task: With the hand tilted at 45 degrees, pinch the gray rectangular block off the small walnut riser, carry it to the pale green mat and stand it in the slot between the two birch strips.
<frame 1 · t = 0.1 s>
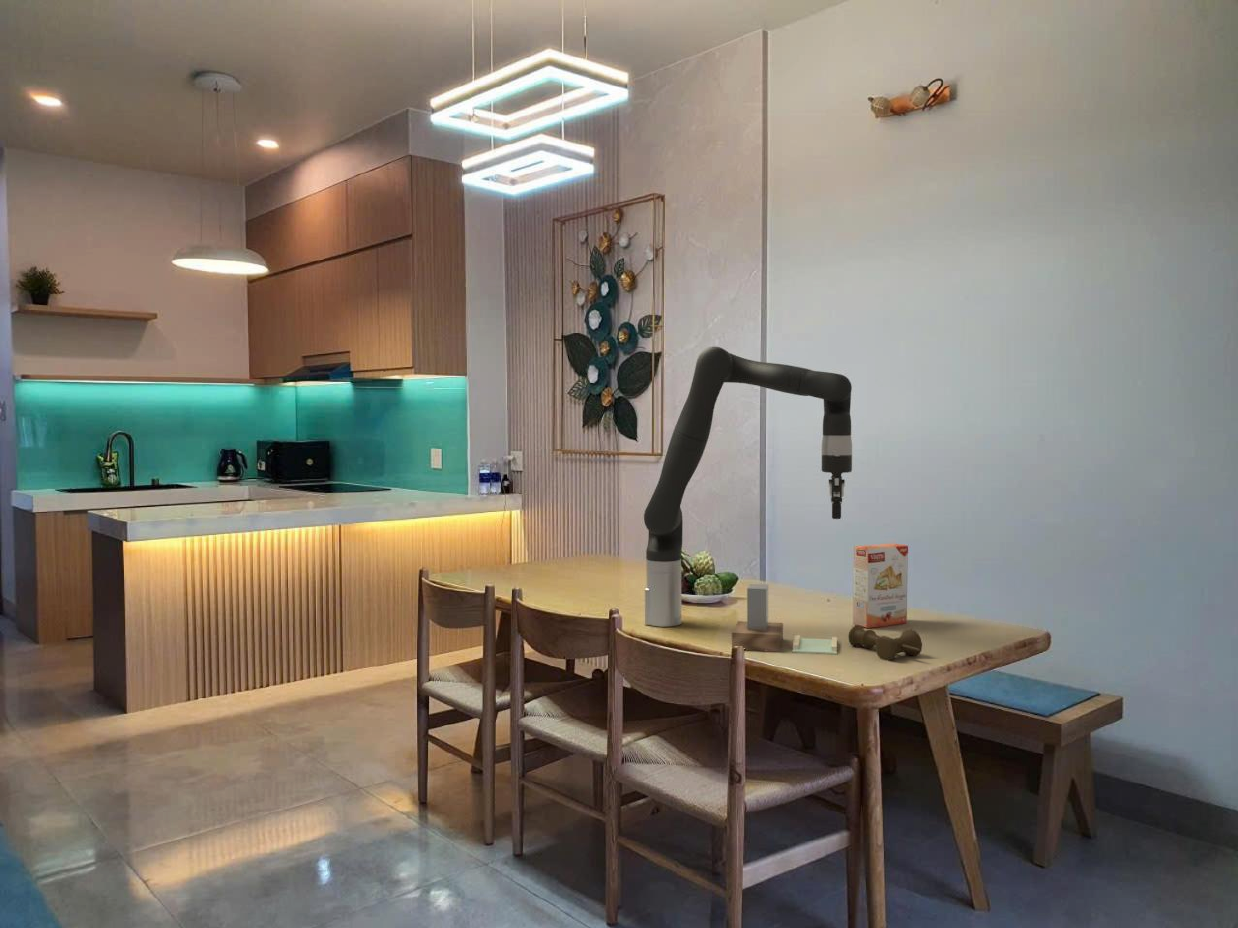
hand: (836, 517, 237), 29 cm above the table, tool pointing down, fingers open, 8 cm apart
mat: (815, 646, 221), on the table
cracker box: (880, 624, 245), on the table
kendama: (886, 655, 214), on the table
gray rectangular block: (758, 627, 224), point 4 cm above the table, touching riser
riser: (758, 644, 224), on the table
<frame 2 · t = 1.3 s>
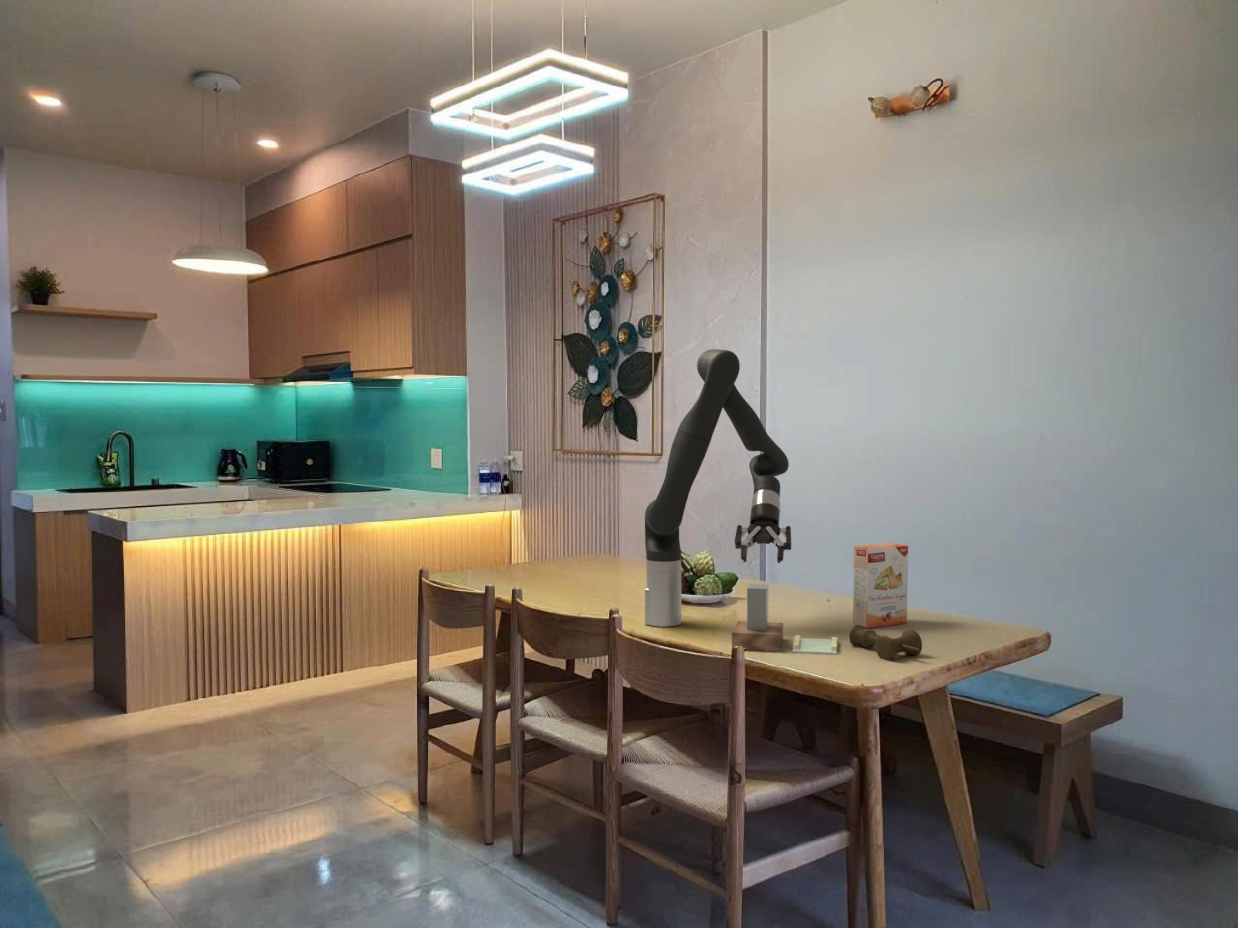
hand: (761, 560, 235), 19 cm above the table, tool tilted 45°, fingers open, 8 cm apart
nothing on the table moved.
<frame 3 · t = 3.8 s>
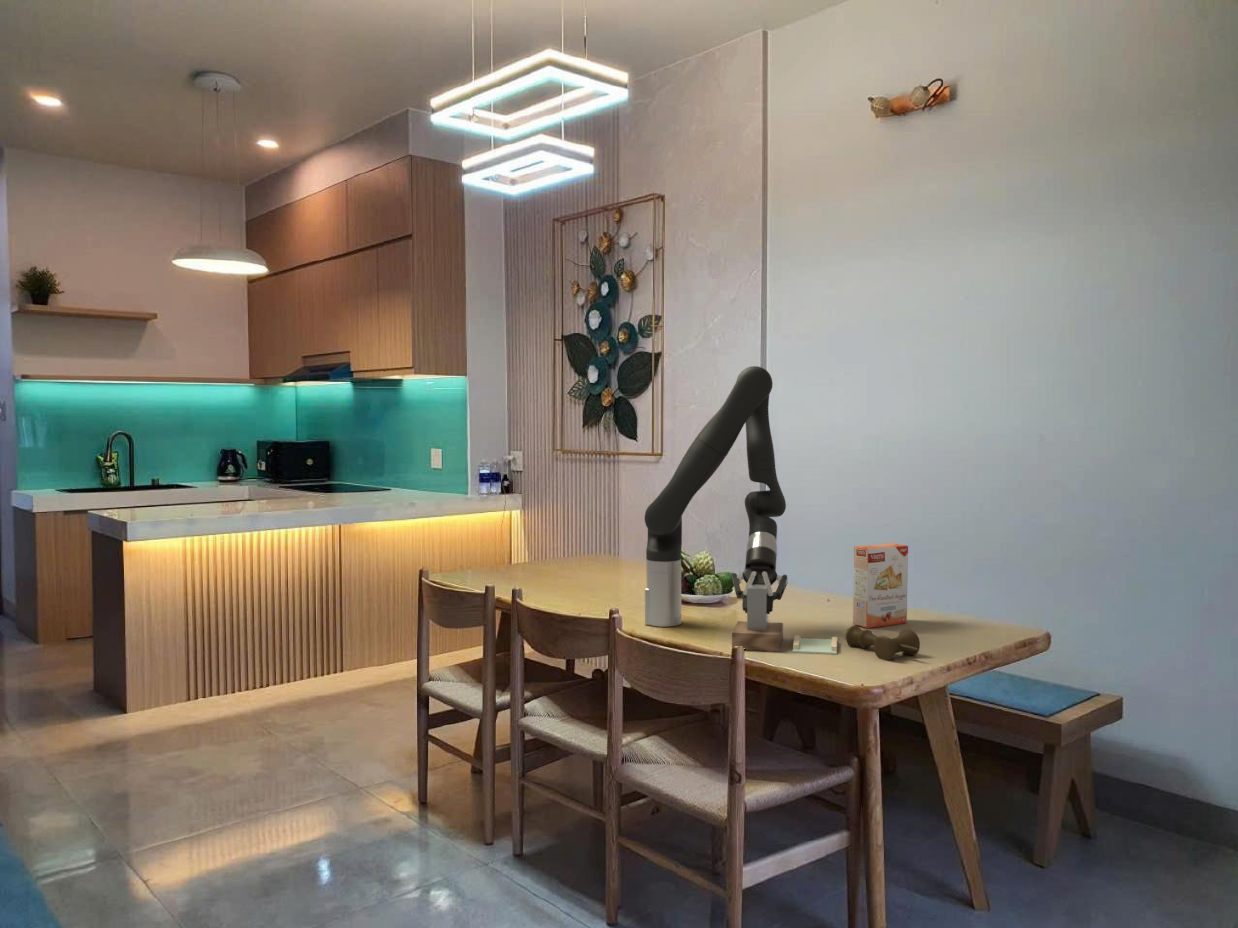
hand: (757, 611, 222), 8 cm above the table, tool tilted 45°, fingers closed on gray rectangular block, 4 cm apart
gray rectangular block: (757, 627, 224), point 4 cm above the table, touching gripper, riser
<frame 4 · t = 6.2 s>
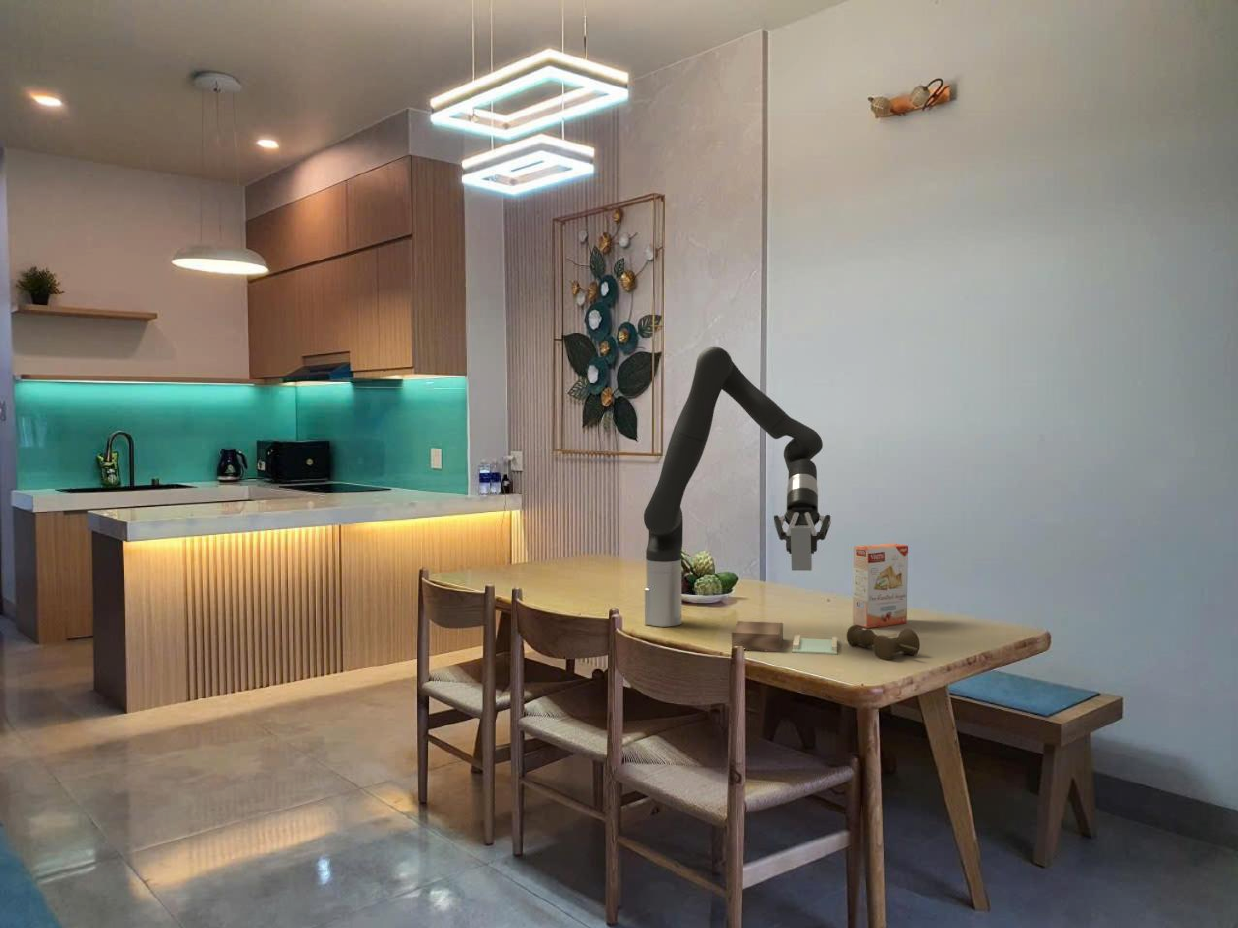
hand: (801, 551, 219), 23 cm above the table, tool tilted 45°, fingers closed on gray rectangular block, 4 cm apart
gray rectangular block: (802, 568, 221), point 19 cm above the table, touching gripper
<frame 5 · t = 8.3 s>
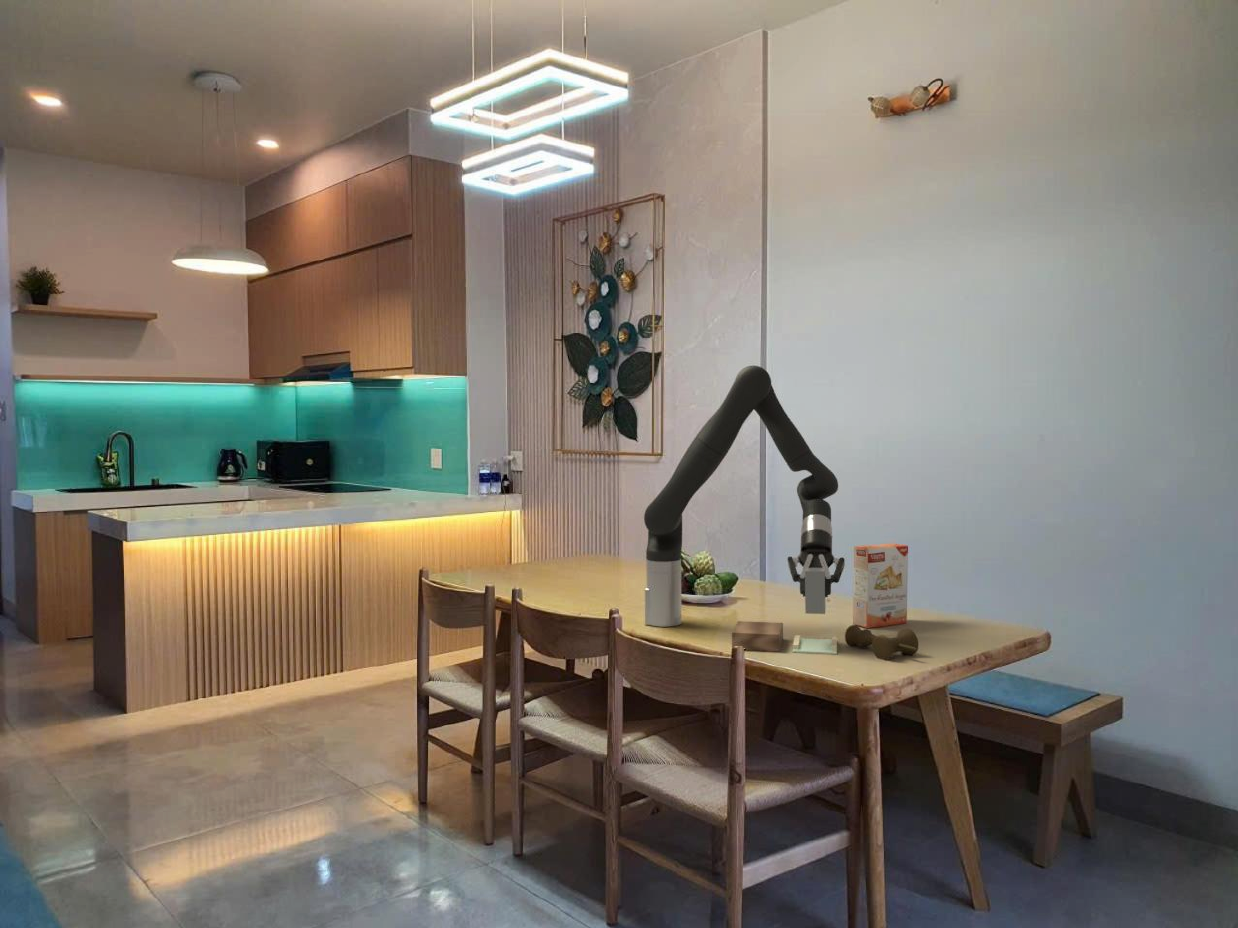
hand: (815, 594, 219), 13 cm above the table, tool tilted 45°, fingers closed on gray rectangular block, 4 cm apart
gray rectangular block: (815, 611, 221), point 9 cm above the table, touching gripper
everything else where it was.
when the fingers open (6 cm above the table, at t = 10.0 s): gray rectangular block drops 1 cm, resting on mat.
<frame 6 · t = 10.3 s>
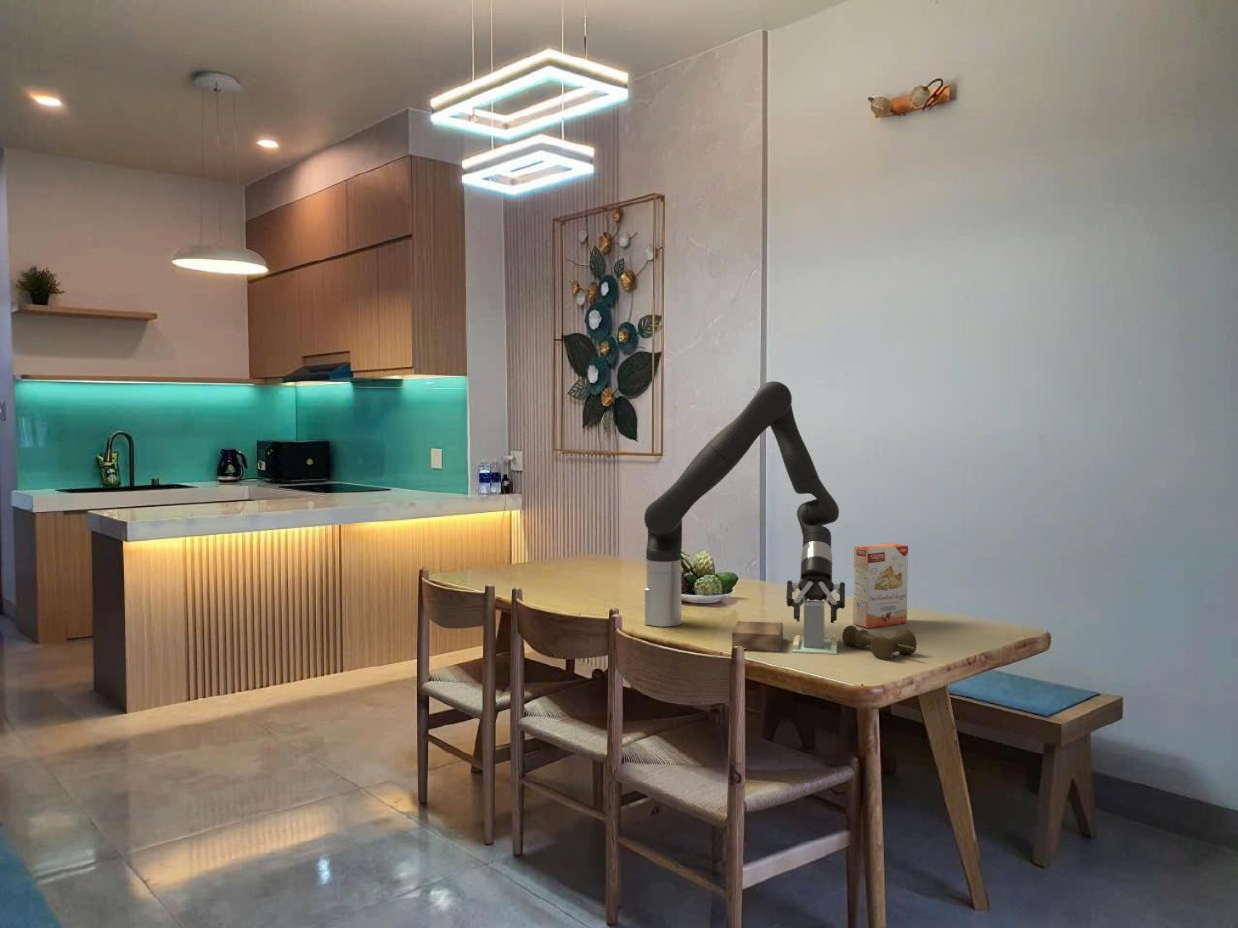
hand: (815, 620, 220), 7 cm above the table, tool tilted 45°, fingers open, 7 cm apart
gray rectangular block: (814, 645, 221), resting on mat
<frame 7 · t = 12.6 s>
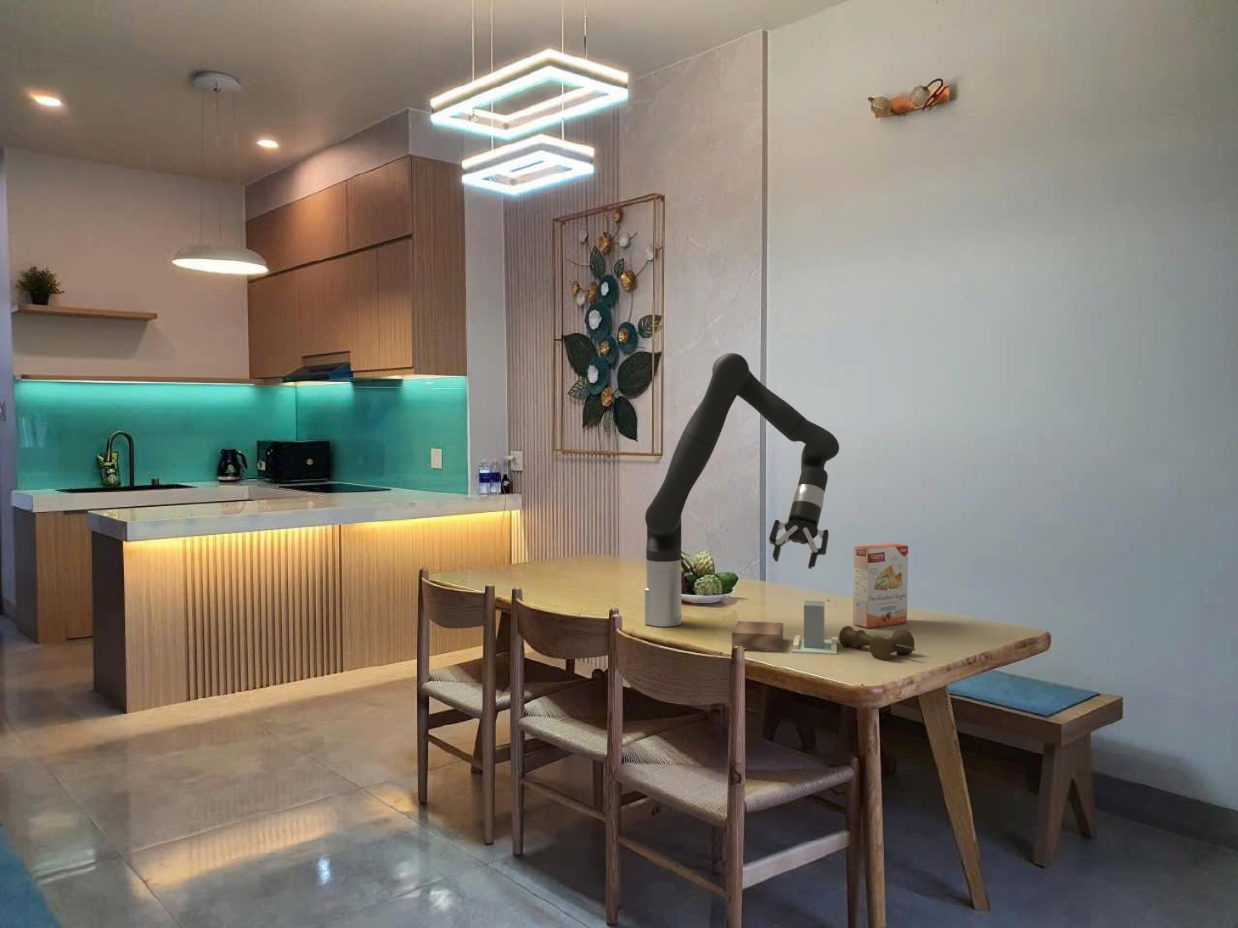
hand: (792, 564, 233), 18 cm above the table, tool tilted 30°, fingers open, 8 cm apart
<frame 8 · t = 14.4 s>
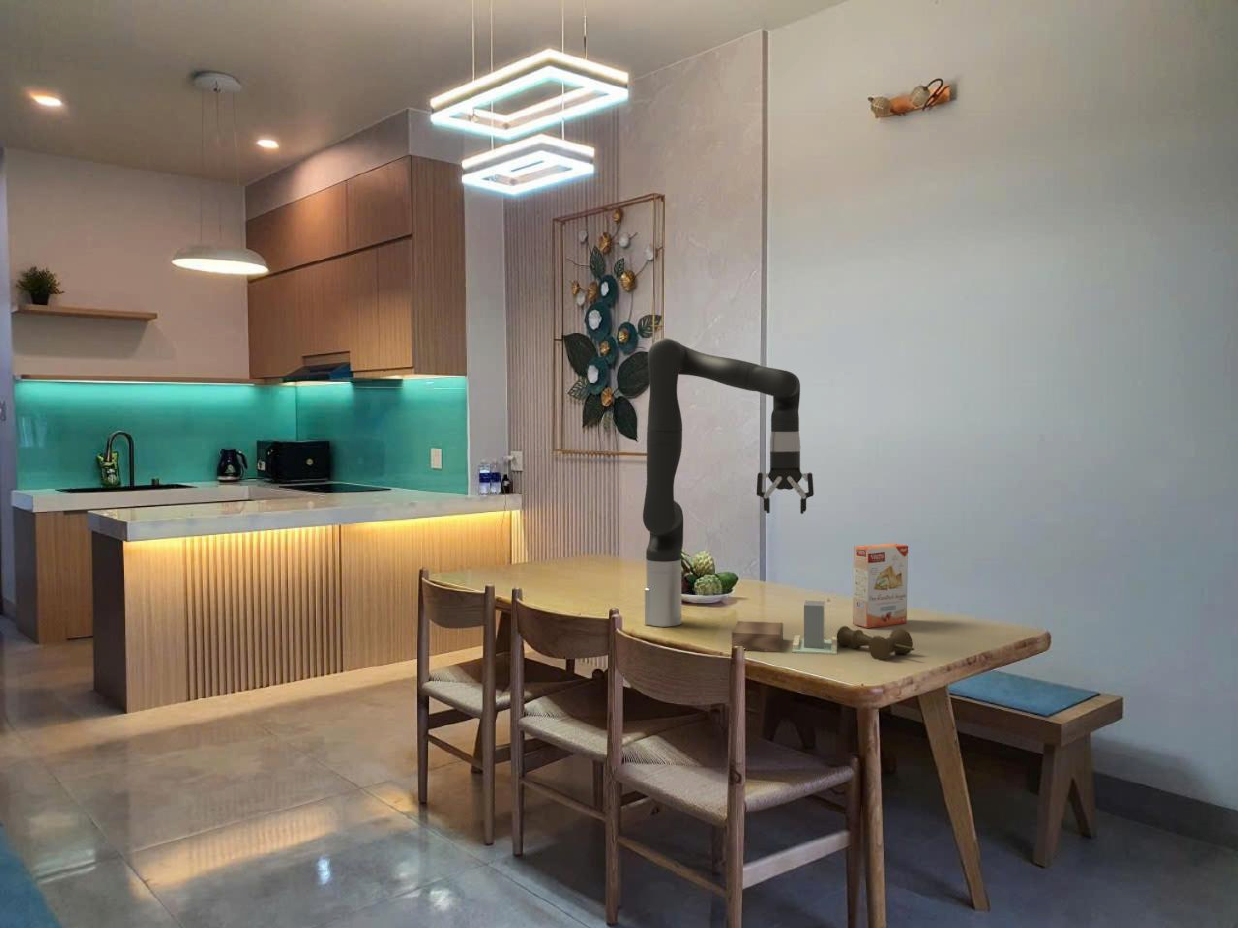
hand: (785, 513, 238), 30 cm above the table, tool pointing down, fingers open, 8 cm apart
at the end: gray rectangular block inside the target area on the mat (0.2 cm from its centre), point 0.4 cm above the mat's base; gray rectangular block tilted 0°; the gripper is holding nothing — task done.
